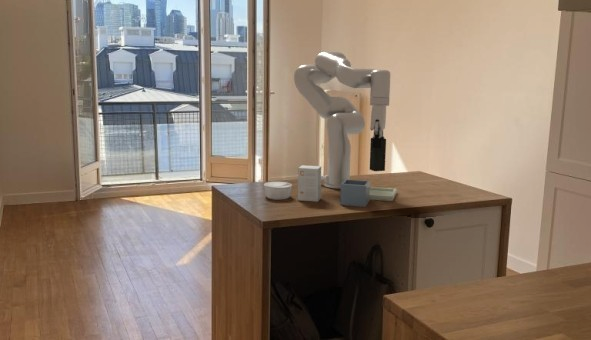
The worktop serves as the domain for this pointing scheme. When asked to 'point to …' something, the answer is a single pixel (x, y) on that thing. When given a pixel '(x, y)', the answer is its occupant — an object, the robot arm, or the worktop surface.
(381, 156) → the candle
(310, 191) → the small box
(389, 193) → the tray
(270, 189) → the ramekin
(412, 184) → the worktop surface
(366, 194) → the holder
